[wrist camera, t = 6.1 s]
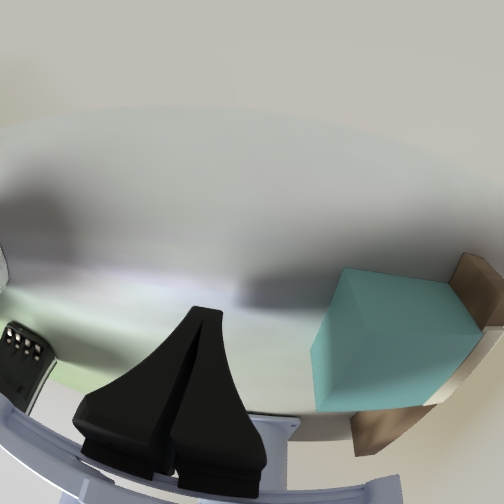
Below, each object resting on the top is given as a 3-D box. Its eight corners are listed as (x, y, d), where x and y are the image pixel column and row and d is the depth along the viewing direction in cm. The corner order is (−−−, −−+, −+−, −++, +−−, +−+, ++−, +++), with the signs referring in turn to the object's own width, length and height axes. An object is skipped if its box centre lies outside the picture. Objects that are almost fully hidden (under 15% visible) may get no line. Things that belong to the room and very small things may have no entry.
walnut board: (368, 419, 20) (375, 457, 17) (350, 420, 20) (355, 459, 17) (483, 258, 12) (523, 302, 8) (463, 252, 12) (506, 300, 8)
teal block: (403, 352, 16) (422, 404, 12) (309, 347, 16) (316, 411, 12) (446, 281, 13) (483, 334, 9) (343, 265, 13) (367, 332, 9)
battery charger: (50, 336, 18) (-8, 437, 8) (61, 362, 20) (14, 454, 10) (3, 310, 17) (-54, 390, 7) (15, 336, 19) (-33, 412, 9)
